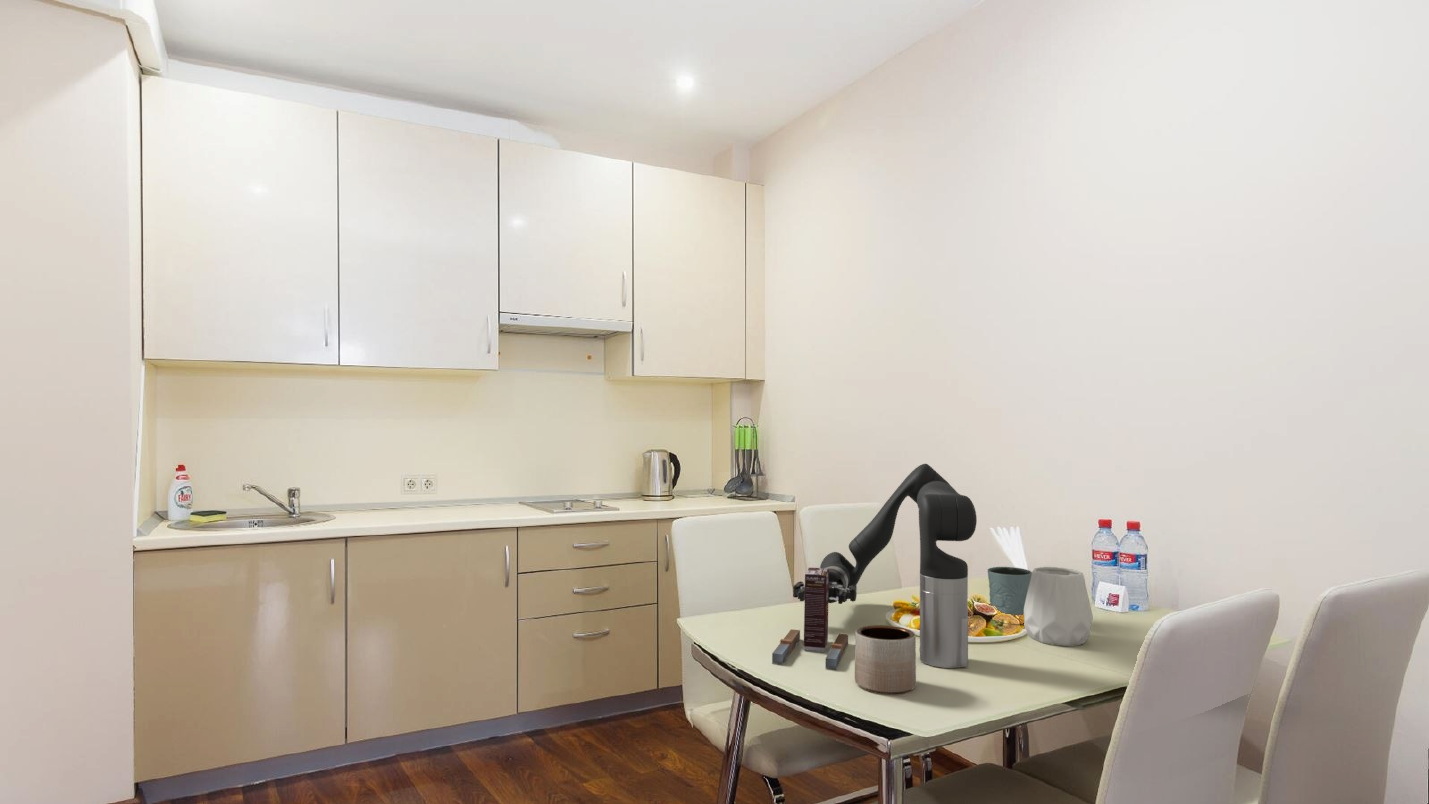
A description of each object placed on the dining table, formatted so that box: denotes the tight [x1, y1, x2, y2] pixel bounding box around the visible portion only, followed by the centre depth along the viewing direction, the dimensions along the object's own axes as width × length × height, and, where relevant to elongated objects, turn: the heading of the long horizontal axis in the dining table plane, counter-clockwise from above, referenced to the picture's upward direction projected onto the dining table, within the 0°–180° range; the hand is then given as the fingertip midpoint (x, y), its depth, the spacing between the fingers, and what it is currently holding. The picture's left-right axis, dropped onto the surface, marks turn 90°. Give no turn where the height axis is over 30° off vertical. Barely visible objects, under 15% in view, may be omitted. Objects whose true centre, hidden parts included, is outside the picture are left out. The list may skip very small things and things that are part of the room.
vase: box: [1023, 566, 1094, 647], centre depth 176 cm, size 14×14×15 cm
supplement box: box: [803, 567, 829, 653], centre depth 170 cm, size 9×5×16 cm, turn 168°
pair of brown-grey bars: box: [771, 629, 849, 671], centre depth 164 cm, size 12×19×3 cm, turn 163°
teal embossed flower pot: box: [987, 566, 1033, 615], centre depth 193 cm, size 10×10×12 cm
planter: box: [854, 624, 917, 695], centre depth 145 cm, size 11×11×10 cm
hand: (820, 598), depth 177 cm, fingers open, 8 cm apart
